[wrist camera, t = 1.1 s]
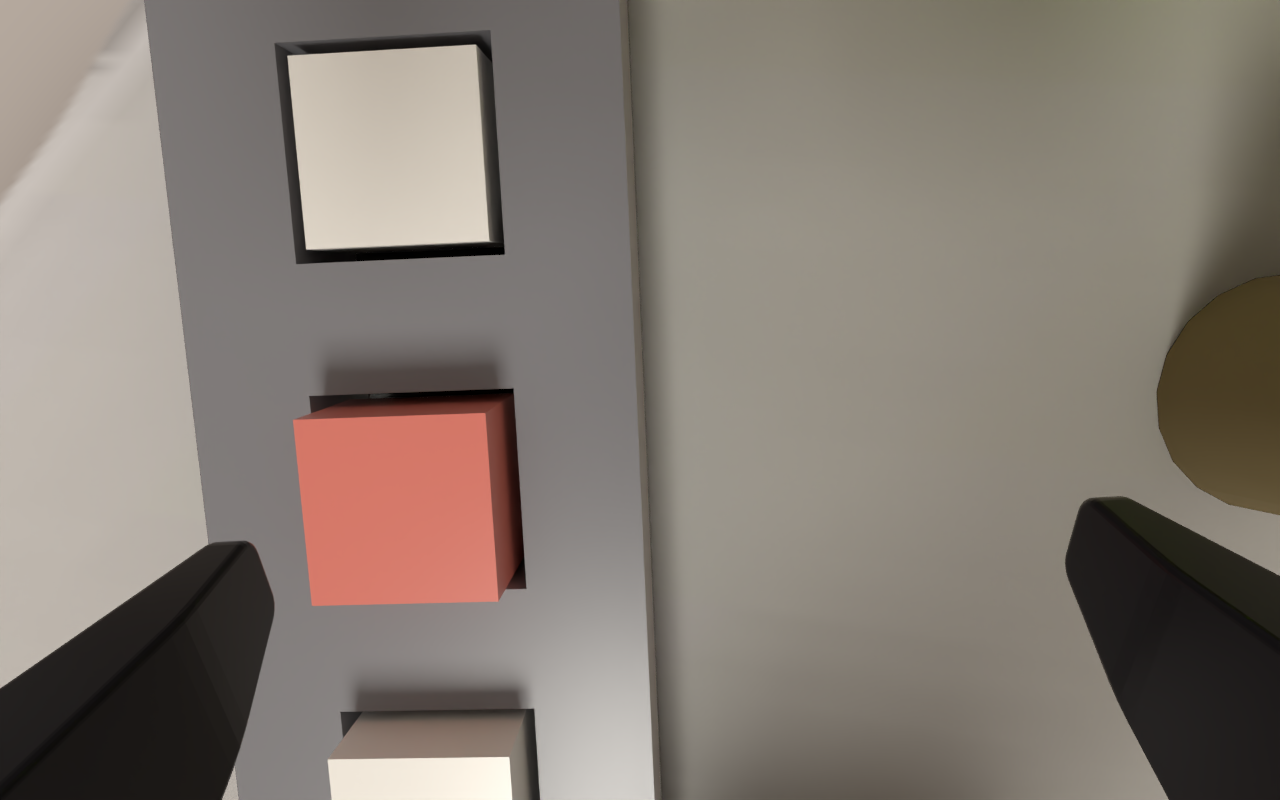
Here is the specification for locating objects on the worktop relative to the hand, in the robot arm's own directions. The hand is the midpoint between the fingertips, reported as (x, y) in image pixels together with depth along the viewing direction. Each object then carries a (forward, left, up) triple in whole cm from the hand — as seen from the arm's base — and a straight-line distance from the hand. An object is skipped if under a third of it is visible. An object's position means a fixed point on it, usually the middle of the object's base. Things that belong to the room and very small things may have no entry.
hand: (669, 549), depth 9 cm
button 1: (+6, +6, -12) cm, 15 cm away
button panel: (-2, +6, -13) cm, 14 cm away
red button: (-2, +6, -11) cm, 12 cm away
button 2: (-9, +6, -11) cm, 15 cm away
